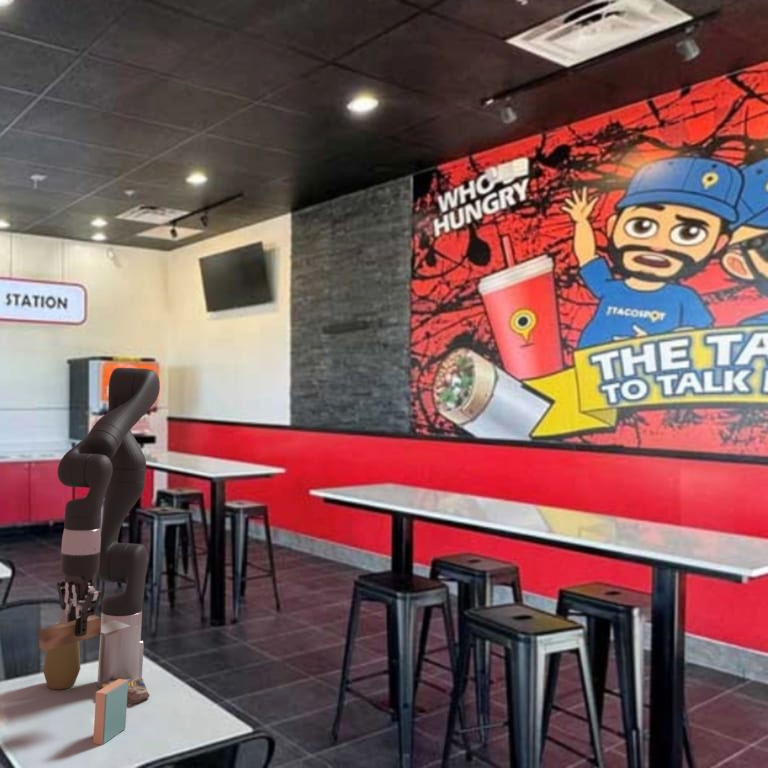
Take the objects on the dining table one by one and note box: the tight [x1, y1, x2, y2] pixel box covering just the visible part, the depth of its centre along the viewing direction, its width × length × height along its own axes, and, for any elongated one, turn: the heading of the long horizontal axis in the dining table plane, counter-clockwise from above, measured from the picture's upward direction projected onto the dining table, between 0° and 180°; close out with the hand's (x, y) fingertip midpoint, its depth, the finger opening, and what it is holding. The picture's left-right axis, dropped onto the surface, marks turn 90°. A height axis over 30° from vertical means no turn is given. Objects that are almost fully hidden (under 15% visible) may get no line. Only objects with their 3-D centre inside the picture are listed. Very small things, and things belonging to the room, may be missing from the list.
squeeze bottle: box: [42, 609, 81, 690], centre depth 181 cm, size 8×8×18 cm
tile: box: [92, 679, 128, 746], centre depth 156 cm, size 2×8×10 cm, turn 166°
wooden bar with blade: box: [38, 614, 131, 651], centre depth 161 cm, size 18×6×4 cm, turn 142°
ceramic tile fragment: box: [102, 677, 150, 705], centre depth 177 cm, size 12×3×10 cm
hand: (76, 633), depth 159 cm, fingers closed on wooden bar with blade, 2 cm apart
